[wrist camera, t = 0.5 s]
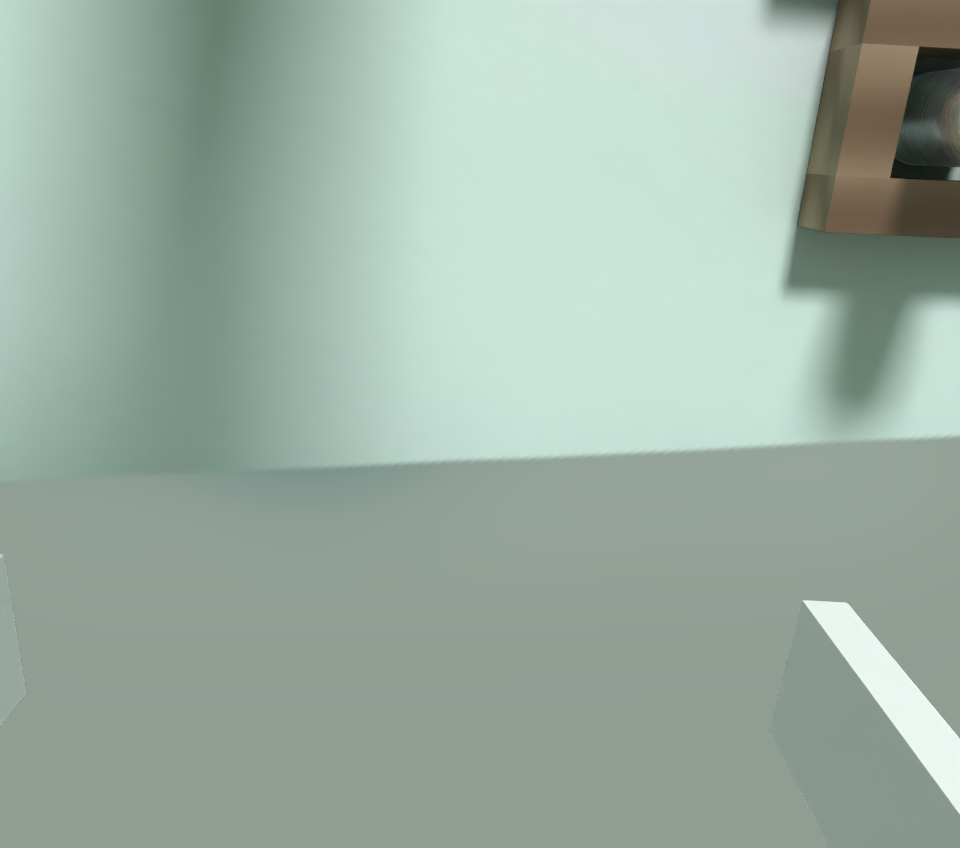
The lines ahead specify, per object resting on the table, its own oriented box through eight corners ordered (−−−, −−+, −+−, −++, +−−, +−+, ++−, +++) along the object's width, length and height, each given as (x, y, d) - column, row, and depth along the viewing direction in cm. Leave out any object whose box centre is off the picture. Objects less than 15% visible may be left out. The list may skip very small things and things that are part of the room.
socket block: (840, -9, 33) (875, -23, 30) (1063, 3, 33) (1117, -10, 31) (797, 225, 37) (824, 231, 34) (999, 234, 37) (1042, 242, 34)
